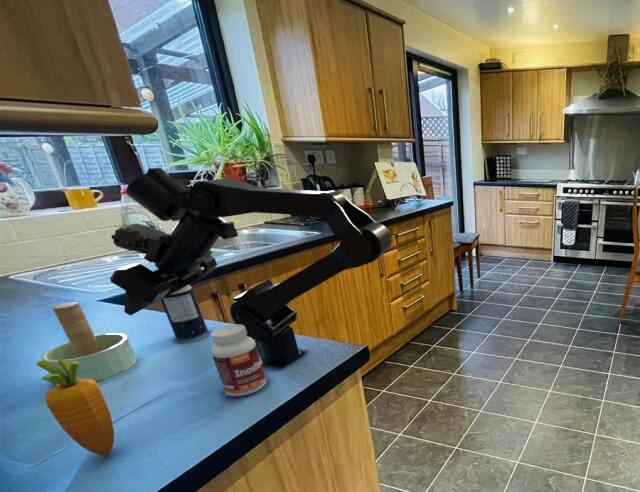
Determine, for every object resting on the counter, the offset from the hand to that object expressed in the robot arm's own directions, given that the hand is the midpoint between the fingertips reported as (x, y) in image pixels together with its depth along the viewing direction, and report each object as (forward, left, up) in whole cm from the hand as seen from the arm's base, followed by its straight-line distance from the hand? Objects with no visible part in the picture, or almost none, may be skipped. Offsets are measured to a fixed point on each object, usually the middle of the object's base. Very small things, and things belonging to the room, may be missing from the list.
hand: (146, 303), depth 72 cm
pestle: (+11, +5, -12) cm, 17 cm away
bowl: (+11, +5, -13) cm, 17 cm away
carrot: (-16, +21, -13) cm, 30 cm away
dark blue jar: (+8, -11, -13) cm, 18 cm away
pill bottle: (-21, +3, -13) cm, 25 cm away
